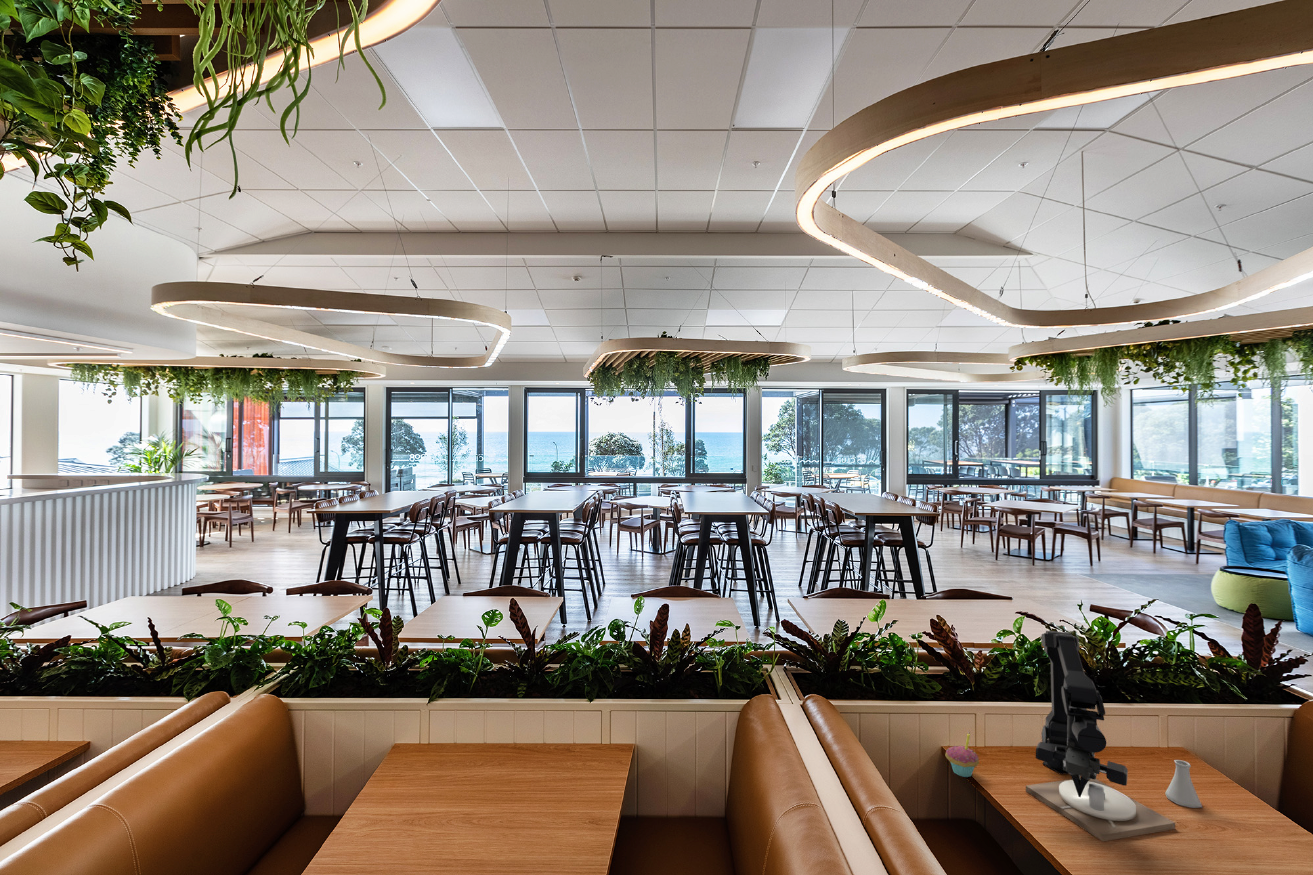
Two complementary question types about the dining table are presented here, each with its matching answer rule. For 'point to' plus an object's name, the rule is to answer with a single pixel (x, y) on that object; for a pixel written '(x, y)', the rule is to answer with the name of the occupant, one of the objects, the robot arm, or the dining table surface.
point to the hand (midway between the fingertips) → (1079, 796)
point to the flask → (1183, 787)
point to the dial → (1098, 801)
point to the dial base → (1099, 827)
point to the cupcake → (962, 759)
